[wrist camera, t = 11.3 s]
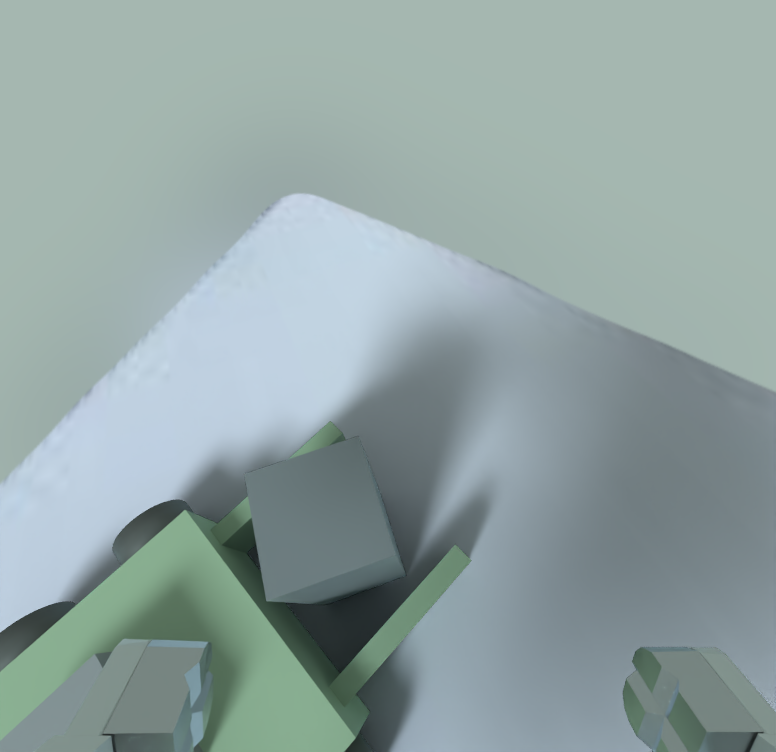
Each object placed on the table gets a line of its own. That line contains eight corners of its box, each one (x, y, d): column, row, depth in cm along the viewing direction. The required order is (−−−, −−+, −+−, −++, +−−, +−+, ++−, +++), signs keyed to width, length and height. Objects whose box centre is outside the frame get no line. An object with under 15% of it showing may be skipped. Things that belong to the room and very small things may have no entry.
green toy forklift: (510, 612, 23) (548, 613, 16) (181, 1023, 18) (16, 1301, 10) (309, 410, 29) (272, 346, 22) (15, 670, 24) (-161, 696, 16)
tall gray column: (406, 575, 24) (395, 555, 15) (325, 604, 24) (266, 601, 15) (380, 495, 26) (358, 435, 17) (305, 520, 26) (243, 473, 17)
